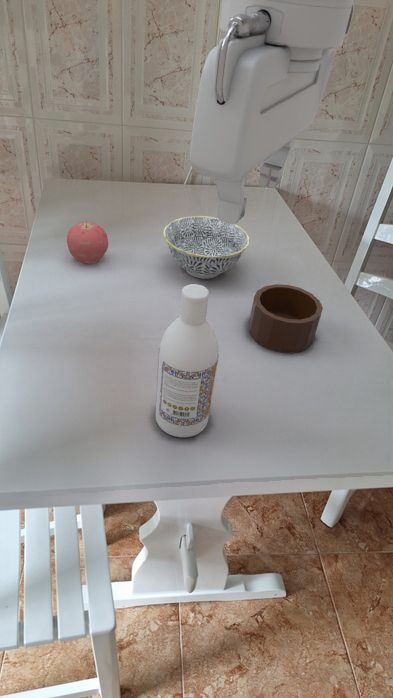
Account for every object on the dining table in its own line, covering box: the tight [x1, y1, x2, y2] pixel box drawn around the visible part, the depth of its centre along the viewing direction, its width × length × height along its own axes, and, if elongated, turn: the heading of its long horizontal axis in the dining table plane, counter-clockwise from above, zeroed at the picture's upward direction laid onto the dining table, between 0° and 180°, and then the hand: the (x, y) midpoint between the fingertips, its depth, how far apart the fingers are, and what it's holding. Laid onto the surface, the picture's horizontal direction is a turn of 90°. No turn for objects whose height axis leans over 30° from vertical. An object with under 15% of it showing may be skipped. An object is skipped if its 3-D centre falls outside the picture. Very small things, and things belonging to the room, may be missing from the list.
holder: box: [248, 283, 324, 354], centre depth 79 cm, size 11×11×6 cm
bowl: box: [163, 215, 250, 280], centre depth 92 cm, size 16×16×8 cm
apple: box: [66, 220, 109, 265], centre depth 91 cm, size 7×7×8 cm
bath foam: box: [155, 283, 219, 438], centre depth 58 cm, size 7×7×20 cm
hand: (251, 200), depth 42 cm, fingers open, 8 cm apart
